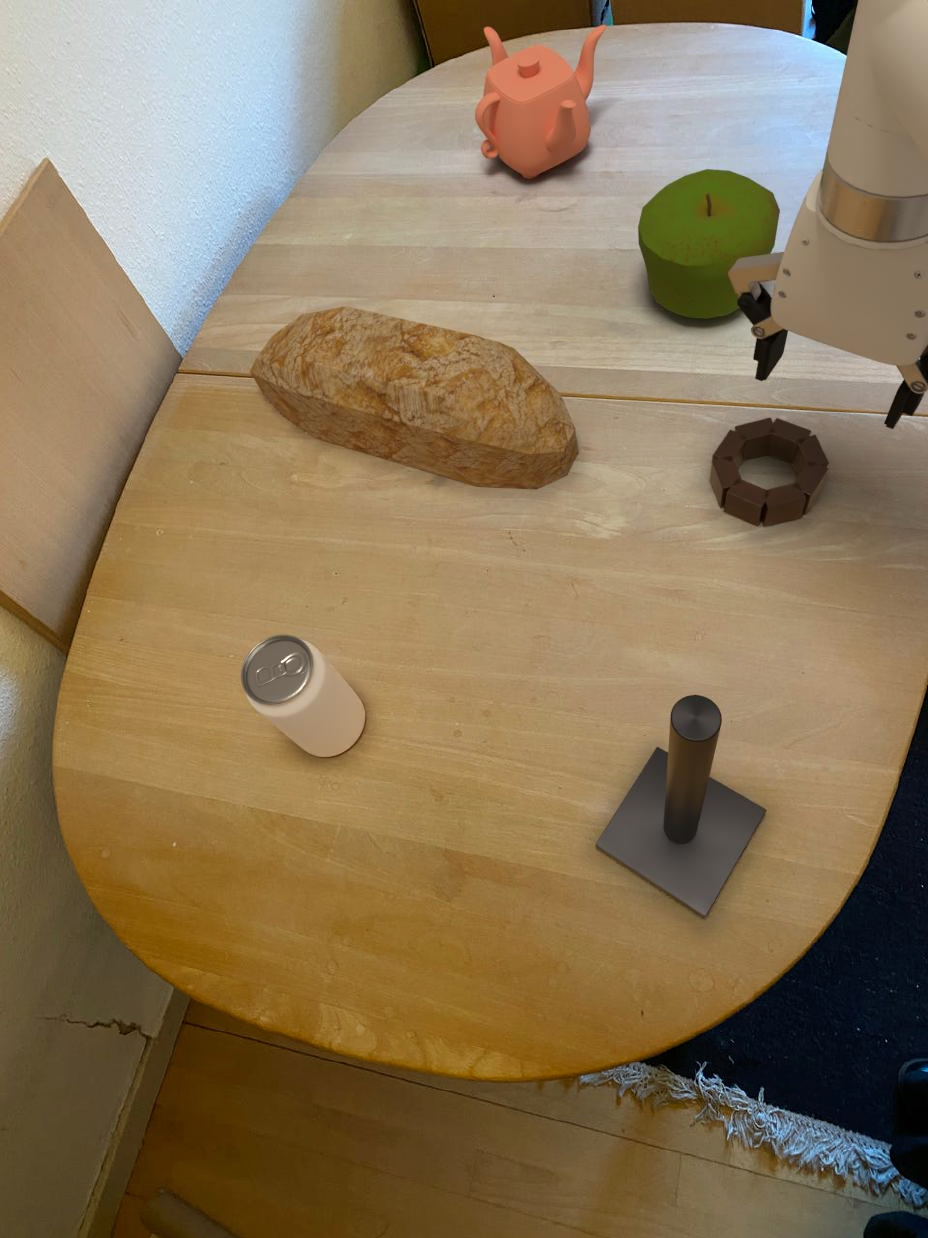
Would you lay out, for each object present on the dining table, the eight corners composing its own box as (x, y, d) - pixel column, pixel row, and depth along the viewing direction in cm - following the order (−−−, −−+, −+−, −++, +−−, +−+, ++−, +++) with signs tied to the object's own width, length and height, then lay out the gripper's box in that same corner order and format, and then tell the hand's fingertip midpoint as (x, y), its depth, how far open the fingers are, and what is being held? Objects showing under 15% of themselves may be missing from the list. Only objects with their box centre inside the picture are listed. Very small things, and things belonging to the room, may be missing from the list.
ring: (837, 463, 73) (844, 442, 71) (789, 540, 71) (794, 521, 68) (742, 427, 77) (746, 405, 74) (693, 498, 75) (695, 479, 72)
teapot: (498, 113, 105) (483, 19, 95) (610, 113, 101) (606, 15, 91) (465, 191, 100) (445, 100, 90) (581, 195, 95) (574, 100, 86)
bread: (595, 418, 81) (588, 343, 72) (549, 508, 77) (537, 440, 69) (297, 343, 94) (261, 272, 85) (246, 417, 90) (203, 350, 81)
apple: (630, 334, 85) (627, 241, 75) (651, 248, 89) (651, 150, 80) (759, 341, 81) (774, 244, 71) (773, 251, 86) (789, 148, 76)
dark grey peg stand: (765, 813, 62) (829, 688, 40) (704, 919, 59) (737, 849, 37) (657, 750, 65) (660, 604, 43) (596, 848, 63) (566, 745, 41)
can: (374, 743, 70) (325, 692, 60) (303, 769, 70) (242, 722, 60) (357, 677, 73) (308, 617, 63) (289, 702, 74) (229, 646, 63)
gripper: (1091, 175, 43) (975, 394, 58) (776, 104, 50) (745, 317, 65) (1034, 272, 41) (929, 473, 56) (715, 184, 48) (697, 385, 63)
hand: (831, 389), depth 61 cm, fingers open, 9 cm apart
